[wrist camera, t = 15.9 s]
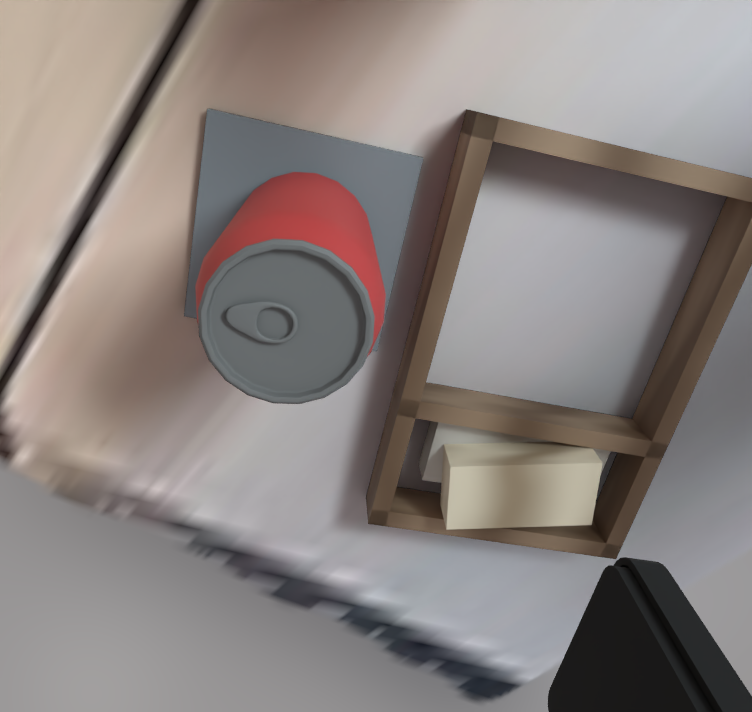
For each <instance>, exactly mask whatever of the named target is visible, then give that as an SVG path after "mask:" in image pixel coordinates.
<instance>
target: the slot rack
mask: <svg viewBox="0 0 752 712" xmlns="http://www.w3.org/2000/svg"><path fill="white" fill-rule="evenodd" d="M493 141H494V142H498V143H502V144H507V145H511V146H515V147H519V148H524V149H528V150H532V151H536V152H541V153H545V154H549V155H553V156H558V157H562V158H566V159H570V160H575V161H579V162H583V163H587V164H592V165H596V166H600V167H604V168H609V169H613V170H617V171H621V172H625V173H630V174H634V175H638V176H642V177H647V178H651V179H655V180H659V181H664V182H668V183H672V184H676V185H681V186H685V187H689V188H693V189H698V190H702V191H706V192H710V193H715V194H719V195H723V196H727V198H726V200H725V203H724V205H723V208H722V210H721V212H720V215H719V217H718V219H717V222H716V224H715V226H714V229H713V231H712V233H711V236H710V238H709V240H708V243H707V245H706V247H705V250H704V252H703V254H702V257H701V259H700V261H699V264H698V266H697V268H696V271H695V273H694V275H693V278H692V280H691V282H690V285H689V287H688V289H687V292H686V294H685V296H684V299H683V301H682V303H681V306H680V308H679V310H678V313H677V315H676V317H675V320H674V322H673V325H672V327H671V329H670V332H669V334H668V336H667V339H666V341H665V343H664V346H663V348H662V350H661V353H660V355H659V357H658V360H657V362H656V364H655V367H654V369H653V371H652V374H651V376H650V378H649V381H648V383H647V385H646V388H645V390H644V392H643V395H642V397H641V399H640V402H639V404H638V406H637V409H636V411H635V413H634V416H633V418H632V419H630V418H625V417H619V416H613V415H608V414H602V413H596V412H591V411H585V410H579V409H574V408H568V407H562V406H557V405H551V404H545V403H540V402H534V401H528V400H523V399H517V398H512V397H506V396H500V395H495V394H489V393H483V392H478V391H472V390H466V389H461V388H455V387H449V386H444V385H438V384H432V383H427V382H426V379H427V376H428V372H429V369H430V365H431V362H432V358H433V354H434V351H435V347H436V344H437V340H438V336H439V333H440V329H441V326H442V322H443V319H444V315H445V311H446V308H447V304H448V301H449V297H450V293H451V290H452V286H453V283H454V279H455V276H456V272H457V268H458V265H459V261H460V258H461V254H462V250H463V247H464V243H465V240H466V236H467V233H468V229H469V225H470V222H471V218H472V215H473V211H474V207H475V204H476V200H477V197H478V193H479V190H480V186H481V182H482V179H483V175H484V172H485V168H486V164H487V161H488V157H489V154H490V150H491V147H492V143H493ZM751 264H752V178H749V177H744V176H740V175H736V174H732V173H728V172H724V171H720V170H715V169H711V168H707V167H703V166H699V165H695V164H691V163H686V162H682V161H678V160H674V159H670V158H666V157H662V156H657V155H653V154H649V153H645V152H641V151H637V150H633V149H628V148H624V147H620V146H616V145H612V144H608V143H604V142H599V141H595V140H591V139H587V138H583V137H579V136H575V135H571V134H566V133H562V132H558V131H554V130H550V129H546V128H542V127H537V126H533V125H529V124H525V123H521V122H517V121H513V120H508V119H504V118H500V117H496V116H492V115H488V114H484V113H479V112H475V111H471V110H467V109H466V113H465V117H464V121H463V124H462V128H461V132H460V136H459V140H458V144H457V148H456V152H455V155H454V159H453V163H452V167H451V171H450V175H449V179H448V182H447V186H446V190H445V194H444V198H443V202H442V206H441V209H440V213H439V217H438V221H437V225H436V229H435V233H434V236H433V240H432V244H431V248H430V252H429V256H428V260H427V264H426V267H425V271H424V275H423V279H422V283H421V287H420V291H419V294H418V298H417V302H416V306H415V310H414V314H413V318H412V321H411V325H410V329H409V333H408V337H407V341H406V345H405V348H404V352H403V356H402V360H401V364H400V368H399V372H398V375H397V379H396V383H395V387H394V391H393V395H392V399H391V403H390V406H389V410H388V414H387V418H386V422H385V426H384V430H383V433H382V437H381V441H380V445H379V449H378V453H377V457H376V460H375V464H374V468H373V472H372V476H371V480H370V484H369V487H368V491H367V495H366V502H367V515H368V524H374V525H381V526H388V527H395V528H402V529H409V530H416V531H423V532H430V533H437V534H444V535H451V536H458V537H465V538H472V539H479V540H486V541H493V542H500V543H507V544H514V545H521V546H528V547H535V548H542V549H549V550H556V551H563V552H570V553H577V554H584V555H591V556H598V557H605V558H612V559H616V558H617V555H618V553H619V551H620V549H621V547H622V545H623V542H624V540H625V538H626V536H627V534H628V532H629V529H630V527H631V525H632V523H633V521H634V519H635V516H636V514H637V512H638V510H639V508H640V505H641V503H642V501H643V499H644V497H645V495H646V492H647V490H648V488H649V486H650V484H651V482H652V479H653V477H654V475H655V473H656V471H657V469H658V466H659V464H660V462H661V460H662V458H663V456H664V453H665V451H666V449H667V447H668V445H669V443H670V440H671V438H672V436H673V434H674V432H675V429H676V427H677V425H678V423H679V421H680V419H681V416H682V414H683V412H684V410H685V408H686V406H687V403H688V401H689V399H690V397H691V395H692V393H693V390H694V388H695V386H696V384H697V382H698V380H699V377H700V375H701V373H702V371H703V369H704V366H705V364H706V362H707V360H708V358H709V356H710V353H711V351H712V349H713V347H714V345H715V343H716V340H717V338H718V336H719V334H720V332H721V330H722V327H723V325H724V323H725V321H726V319H727V317H728V314H729V312H730V310H731V308H732V306H733V304H734V301H735V299H736V297H737V295H738V293H739V290H740V288H741V286H742V284H743V282H744V280H745V277H746V275H747V273H748V271H749V269H750V267H751ZM415 419H422V420H428V421H434V422H440V423H446V424H452V425H458V426H464V427H470V428H476V429H482V430H488V431H494V432H500V433H506V434H512V435H518V436H524V437H529V438H535V439H541V440H547V441H553V442H559V443H565V444H571V445H577V446H583V447H589V448H595V449H601V450H607V451H613V452H618V453H617V456H616V458H615V460H614V463H613V465H612V467H611V470H610V472H609V474H608V477H607V479H606V481H605V484H604V486H603V488H602V491H601V493H600V495H599V498H598V500H597V502H596V505H595V509H594V515H593V520H592V525H576V526H544V527H512V528H481V529H449V530H446V526H445V522H444V518H443V514H442V510H441V506H440V500H441V494H439V493H433V492H426V491H420V490H413V489H406V488H400V487H397V483H398V480H399V476H400V473H401V469H402V466H403V462H404V458H405V455H406V451H407V448H408V444H409V440H410V437H411V433H412V430H413V426H414V423H415Z"/></svg>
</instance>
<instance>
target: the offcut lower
mask: <svg viewBox="0 0 752 712" xmlns="http://www.w3.org/2000/svg"><path fill="white" fill-rule="evenodd" d="M517 442H553V441H547V440H541V439H535V438H529V437H524V436H518V435H512V434H506V433H500V432H494V431H488V430H482V429H476V428H470V427H464V426H458V425H452V424H446V423H440V422H434V421H430V424H429V428H428V431H427V435H426V438H425V442H424V446H423V449H422V453H421V456H420V460H419V467H420V472H421V477H422V480H425V481H432V482H439V483H442V467H443V451H444V444H475V443H517ZM593 450H594V451H595V452H596V454H597V455H598V457H599V458H600V460H601V461H602V463H603V464H602V470H601V474H602V471H603V469H604V466H605V464H606V461H607V459H608V456H609V454H610V452H611V451H607V450H601V449H595V448H593ZM600 476H601V475H600Z"/></svg>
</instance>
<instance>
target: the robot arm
mask: <svg viewBox="0 0 752 712" xmlns="http://www.w3.org/2000/svg"><path fill="white" fill-rule="evenodd" d="M548 710H549V712H752V696H751V695H750V693H749V692H748V690H747V689H746V687H745V686H744V684H743V683H742V681H741V680H740V678H739V677H738V675H737V674H736V672H735V670H734V669H733V668H732V666H731V664H730V663H729V661H728V660H727V658H726V657H725V655H724V654H723V653H722V651H721V649H720V648H719V646H718V645H717V643H716V642H715V641H714V639H713V637H712V636H711V634H710V633H709V632H708V630H707V628H706V627H705V625H704V624H703V622H702V621H701V619H700V618H699V616H698V615H697V613H696V612H695V610H694V609H693V607H692V606H691V604H690V603H689V601H688V600H687V598H686V597H685V595H684V594H683V592H682V591H681V589H680V588H679V586H678V585H677V583H676V582H675V580H674V579H673V577H672V576H671V574H670V573H669V571H668V570H667V568H666V567H665V566H664V565H663V564H661V563H659V562H653V561H646V560H639V559H632V558H626V557H625V558H620V559H619V560H617V561H616V563H615V564H614V566H608V567H606V568H605V570H604V571H603V573H602V575H601V577H600V579H599V582H598V584H597V586H596V588H595V590H594V593H593V595H592V597H591V599H590V601H589V604H588V606H587V608H586V610H585V612H584V615H583V617H582V619H581V621H580V623H579V626H578V628H577V630H576V632H575V634H574V637H573V639H572V641H571V643H570V645H569V648H568V650H567V652H566V654H565V656H564V659H563V661H562V663H561V665H560V667H559V670H558V672H557V674H556V676H555V678H554V681H553V683H552V685H551V687H550V690H549V695H548Z"/></svg>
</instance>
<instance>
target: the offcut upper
mask: <svg viewBox="0 0 752 712" xmlns="http://www.w3.org/2000/svg"><path fill="white" fill-rule="evenodd" d="M602 464H603V463H602V461H601V460H600V458H599V457H598V455H597V454H596V452H595V451H594V450H593V448H589V447H583V446H577V445H571V444H565V443H559V442H517V443H475V444H444V451H443V467H442V484H441V500H440V506H441V510H442V514H443V518H444V522H445V526H446V530H449V529H481V528H512V527H544V526H576V525H592V520H593V515H594V509H595V503H596V498H597V492H598V487H599V481H600V475H601V470H602Z"/></svg>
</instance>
